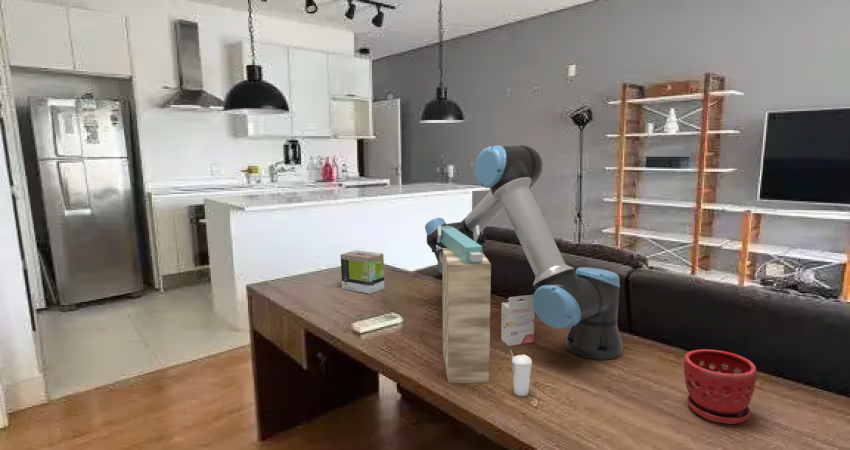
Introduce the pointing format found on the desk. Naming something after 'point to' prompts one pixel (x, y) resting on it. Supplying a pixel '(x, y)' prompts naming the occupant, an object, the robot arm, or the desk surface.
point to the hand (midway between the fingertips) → (458, 230)
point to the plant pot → (719, 385)
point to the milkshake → (521, 374)
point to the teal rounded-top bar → (461, 245)
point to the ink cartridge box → (517, 321)
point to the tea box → (362, 271)
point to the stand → (466, 318)
